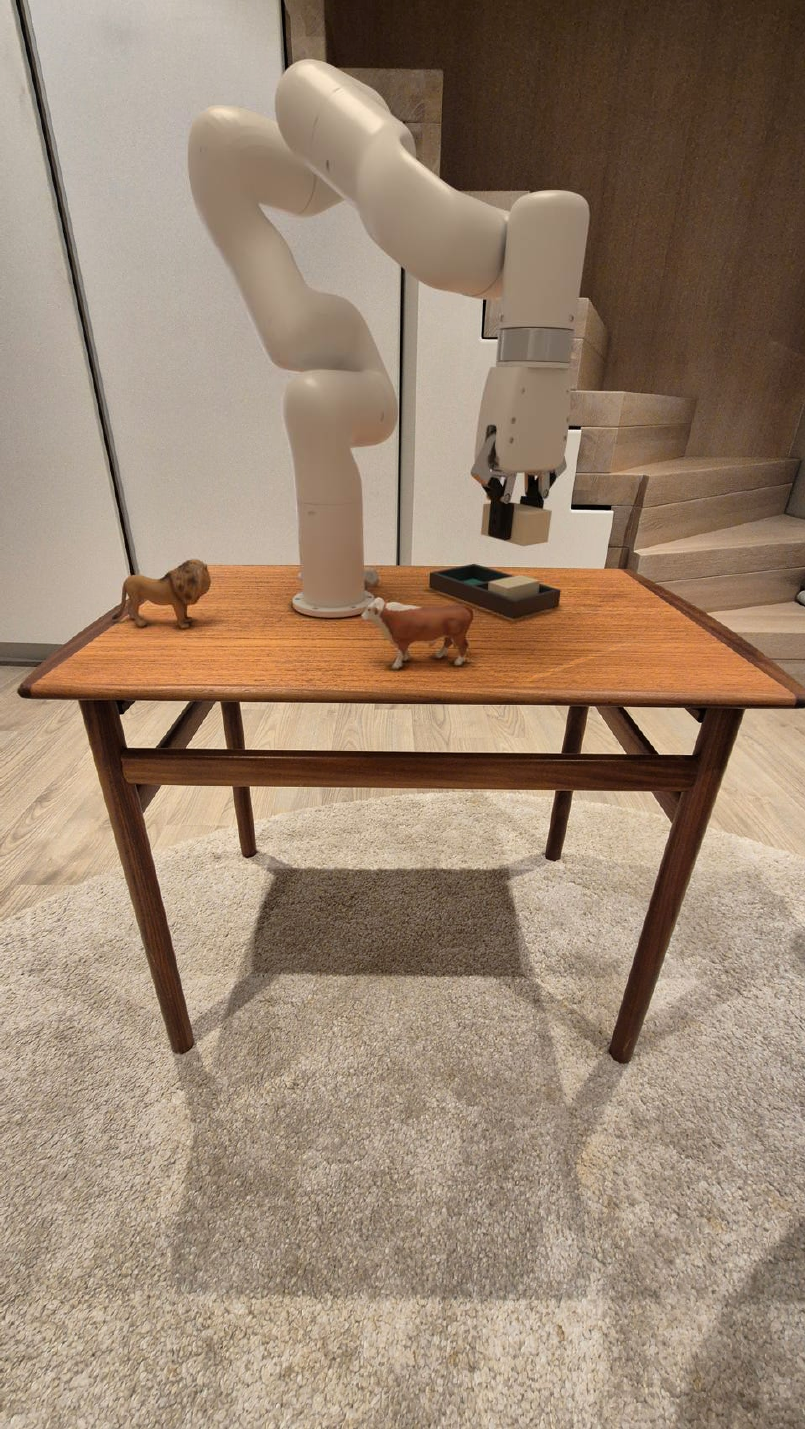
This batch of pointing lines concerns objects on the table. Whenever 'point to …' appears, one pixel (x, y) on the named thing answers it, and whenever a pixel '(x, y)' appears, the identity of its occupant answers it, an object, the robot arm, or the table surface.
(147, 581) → the lion figurine
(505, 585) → the beige block
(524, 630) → the table surface
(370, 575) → the grey round piece
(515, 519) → the tan rectangular block
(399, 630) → the bull figurine
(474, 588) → the dark shallow tray
